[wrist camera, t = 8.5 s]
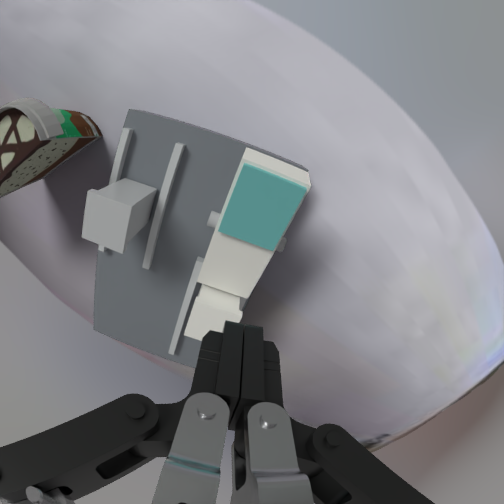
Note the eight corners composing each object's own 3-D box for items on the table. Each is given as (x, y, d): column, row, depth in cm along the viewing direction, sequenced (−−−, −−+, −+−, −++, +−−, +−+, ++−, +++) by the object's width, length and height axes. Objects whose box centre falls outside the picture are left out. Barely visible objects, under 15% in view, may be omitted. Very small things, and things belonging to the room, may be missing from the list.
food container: (96, 76, 19) (28, 63, 10) (114, 128, 21) (45, 135, 12) (21, 139, 20) (-42, 155, 11) (36, 184, 23) (-26, 212, 14)
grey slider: (115, 212, 21) (81, 237, 16) (123, 175, 20) (87, 190, 15) (149, 225, 22) (122, 253, 17) (160, 187, 20) (131, 206, 15)
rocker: (195, 261, 21) (187, 281, 20) (236, 143, 15) (230, 155, 13) (257, 282, 22) (254, 304, 20) (316, 176, 16) (321, 192, 14)
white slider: (196, 294, 25) (183, 334, 19) (206, 263, 23) (194, 301, 18) (231, 305, 25) (226, 348, 20) (244, 276, 24) (242, 316, 19)
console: (103, 314, 30) (84, 343, 25) (142, 110, 21) (114, 107, 16) (215, 355, 32) (210, 389, 27) (301, 165, 23) (315, 175, 18)
